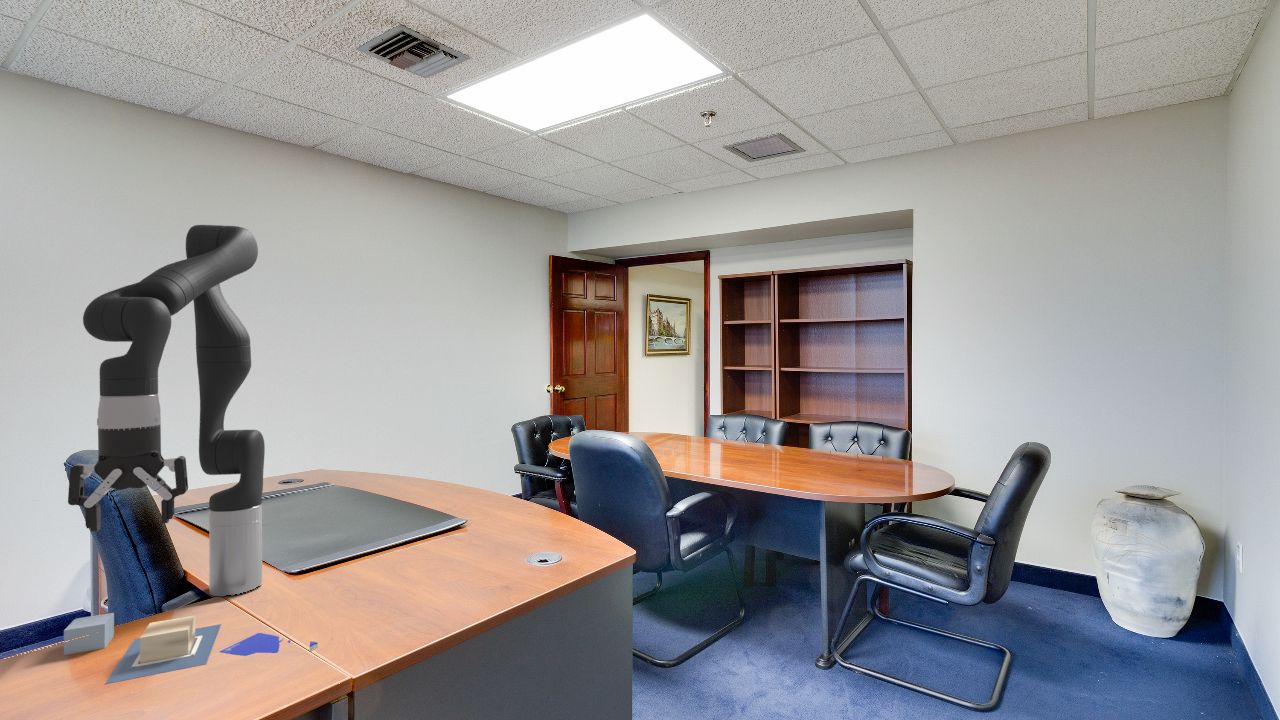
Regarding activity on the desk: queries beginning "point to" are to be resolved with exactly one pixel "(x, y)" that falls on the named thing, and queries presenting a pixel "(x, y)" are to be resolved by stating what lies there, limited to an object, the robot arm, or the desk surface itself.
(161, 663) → the board
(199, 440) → the robot arm
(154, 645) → the maple base block
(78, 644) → the slate block
